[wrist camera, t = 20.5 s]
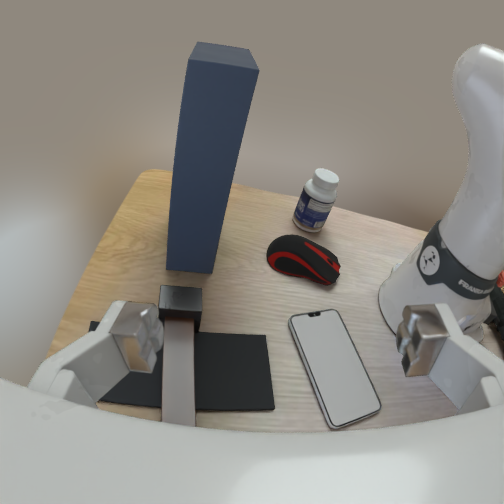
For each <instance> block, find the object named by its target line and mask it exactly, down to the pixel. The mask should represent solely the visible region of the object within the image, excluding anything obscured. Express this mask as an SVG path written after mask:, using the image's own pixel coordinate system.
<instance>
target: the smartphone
mask: <svg viewBox="0 0 504 504" xmlns="http://www.w3.org/2000/svg"><path fill="white" fill-rule="evenodd" d="M288 324H289V327H290V329H291V332H292V334H293V337H294V339H295V342H296V344H297V347H298V349H299V352H300V354H301V357H302V359H303V362H304V365H305V367H306V370H307V372H308V375H309V377H310V380H311V382H312V385H313V387H314V390H315V393H316V395H317V398H318V400H319V403H320V405H321V408H322V410H323V413H324V416H325V418H326V421H327V423H328V425H329V426H330V427H331V428H333V429H338V428H341V427H344V426H346V425H349V424H351V423H354V422H357V421H359V420H362V419H364V418H366V417H369V416H371V415H373V414H376V413H377V412H379V411H380V410H381V407H382V405H381V402H380V399H379V397H378V395H377V393H376V391H375V388H374V386H373V384H372V382H371V379H370V377H369V375H368V373H367V371H366V368H365V366H364V364H363V362H362V360H361V358H360V356H359V353H358V351H357V349H356V347H355V345H354V343H353V341H352V339H351V337H350V334H349V332H348V330H347V328H346V326H345V324H344V322H343V320H342V318H341V316H340V314H339V312H338V311H337V310H335V309H327V310H321V311H315V312H308V313H302V314H296V315H292V316H291V317H290V318H289V320H288Z"/></svg>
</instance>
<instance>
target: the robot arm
mask: <svg viewBox="0 0 504 504" xmlns="http://www.w3.org/2000/svg"><path fill="white" fill-rule="evenodd" d="M452 91H453V96H454V100H455V103H456V105H457V108H458V110H459V112H460V114H461V116H462V119H463V121H464V124H465V128H466V131H467V136H468V144H469V158H468V166H467V171H466V174H465V177H464V180H463V182H462V185H461V187H460V189H459V191H458V193H457V195H456V197H455V199H454V200H453V202H452V204H451V206H450V208H449V209H448V211H447V213H446V214H445V216H444V217H443V219H441V220H439V221H437V222H436V224H435V225H434V226H433V227H432V228H431V229H430V231H429V233H428V235H427V236H426V238H425V239H424V240H423V241H421V242H420V243H419V244H418V245H417V246H416V247H415V249H414V250H413V251H412V252H411V253H410V254H409V255H408V256H407V258H406V259H405V260H404V261H403V262H402V263H401V264H400V263H397V264H396V265H395V266H394V267H393V268H392V271H391V276H390V277H389V278H388V279H387V280H385V281H384V282H383V284H382V285H381V287H380V291H379V304H380V308H381V311H382V313H383V316H384V318H385V320H386V321H387V323H388V325H389V326H390V327H391V329H392V330H393V331H394V332H395V333H396V344H397V349H398V352H399V353H401V354H402V355H403V359H402V361H401V362H402V366H403V369H404V373H405V376H406V377H413V376H424V375H428V377H429V378H430V379H431V380H432V381H433V382H434V383H435V384H436V385H437V386H438V387H439V389H440V390H441V391H442V392H443V393H444V394H445V395H446V396H447V397H448V398H449V399H450V400H451V401H452V402H453V404H454V405H455V406H456V407H457V408H458V409H459V411H458V412H457V413H456V415H455V416H452V417H447V418H442V419H437V420H431V421H426V422H420V423H413V424H407V425H400V426H392V427H384V428H374V429H364V430H351V431H335V432H305V433H282V432H252V431H235V430H222V429H212V428H202V427H194V426H186V425H178V424H172V423H165V422H159V421H153V420H147V419H142V418H137V417H132V416H127V415H122V414H117V413H113V412H109V411H104V410H100V409H99V408H98V407H97V405H96V404H95V403H96V402H97V401H98V400H99V399H100V398H102V397H103V396H104V395H105V394H106V393H107V392H108V391H109V390H110V389H111V388H113V387H114V386H115V385H116V384H117V383H118V382H119V381H120V380H121V379H123V378H124V377H125V376H126V375H127V374H128V373H129V371H135V372H144V373H152V372H153V369H154V366H155V364H156V361H157V356H156V352H157V351H159V350H160V349H161V348H162V345H163V342H164V327H163V324H162V322H161V321H160V320H159V319H158V318H157V316H158V314H159V311H158V308H157V305H156V304H154V303H143V302H132V301H119V300H116V301H114V302H112V304H111V305H110V307H109V309H108V310H107V312H106V314H105V315H104V317H103V319H102V320H101V322H100V323H99V325H98V327H97V329H96V330H95V331H90V332H89V333H87V334H86V335H84V336H82V337H81V338H79V339H78V340H76V341H74V342H73V343H71V344H70V345H68V346H66V347H65V348H63V349H62V350H60V351H58V352H57V353H55V354H54V355H52V356H51V357H49V358H47V359H46V360H44V361H43V362H41V364H40V366H39V367H38V369H37V371H36V372H35V374H34V376H33V377H32V379H31V381H30V383H29V384H28V386H27V387H24V386H22V385H19V384H16V383H14V382H11V381H8V380H6V379H3V378H1V377H0V504H504V361H503V360H501V359H500V358H499V357H497V356H496V355H495V354H493V353H492V352H491V351H489V350H488V349H486V348H485V347H484V346H482V345H481V344H479V343H480V342H481V340H482V339H483V329H482V325H481V324H482V323H486V324H489V323H490V322H491V321H492V320H493V319H495V320H496V324H497V331H499V330H498V324H499V322H500V320H499V318H498V317H497V314H496V312H495V309H494V306H493V303H492V301H491V298H490V296H489V294H490V292H491V291H492V290H493V288H494V285H495V284H496V283H497V286H498V287H502V286H503V285H504V271H503V269H504V51H503V50H500V49H498V48H495V47H492V46H490V45H487V44H484V43H483V44H478V45H476V46H473V47H471V48H469V49H468V50H466V51H465V52H464V53H463V54H462V55H461V56H460V58H459V59H458V61H457V63H456V65H455V67H454V71H453V76H452Z"/></svg>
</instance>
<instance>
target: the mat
mask: <svg viewBox="0 0 504 504" xmlns="http://www.w3.org/2000/svg"><path fill="white" fill-rule="evenodd" d="M99 323H100V322H95V321H91V323H90V328H89V332H90V331H95V330H96V329H97V327H98V325H99ZM89 332H88V333H89ZM163 344H164V342H163ZM156 356H157V361H156V364H155V366H154V369H153V372H152V373H144V372H135V371H129V373H128V374H127V375H126V376H125V377H124V378H123V379H121V380H120V381H119V382H118V383H117V384H116V385H115V386H114V387H113V388H111V389H110V390H109V391H108V392H107V393H106V394H105V395H104V396H103V397H102V398H100V399H99V401H106V402H113V403H121V404H129V405H138V406H148V407H159V408H161V405H162V366H163V345H162V348H161V349H160V350H159V351H157V352H156ZM194 376H195V410H220V411H250V410H274V409H275V405H274V397H273V389H272V381H271V373H270V365H269V357H268V350H267V342H266V335H247V334H226V333H208V332H198V333H194Z"/></svg>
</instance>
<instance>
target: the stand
mask: <svg viewBox="0 0 504 504" xmlns="http://www.w3.org/2000/svg"><path fill="white" fill-rule="evenodd" d="M258 74H259V68H258V66H257V64H256V62H255V60H254V58H253V56H252V55H251V53H250V51H249V49H244V48H237V47H232V46H226V45H225V46H224V45H218V44H212V43H204V42H197V44H196V46H195V48H194V49H193V52H192V54H191V55H190V57H189V59H188V64H187V71H186V76H185V82H184V89H183V96H182V102H181V109H180V117H179V125H178V132H177V140H176V148H175V157H174V167H173V176H172V187H171V198H170V211H169V225H168V240H167V259H166V270H176V271H187V272H198V273H209V274H212V272H213V267H214V262H215V258H216V253H217V248H218V243H219V239H220V234H221V229H222V225H223V220H224V216H225V211H226V207H227V202H228V198H229V193H230V189H231V184H232V180H233V175H234V171H235V167H236V163H237V158H238V154H239V150H240V146H241V142H242V138H243V134H244V129H245V125H246V121H247V117H248V113H249V109H250V105H251V101H252V97H253V93H254V89H255V86H256V82H257V78H258Z"/></svg>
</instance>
